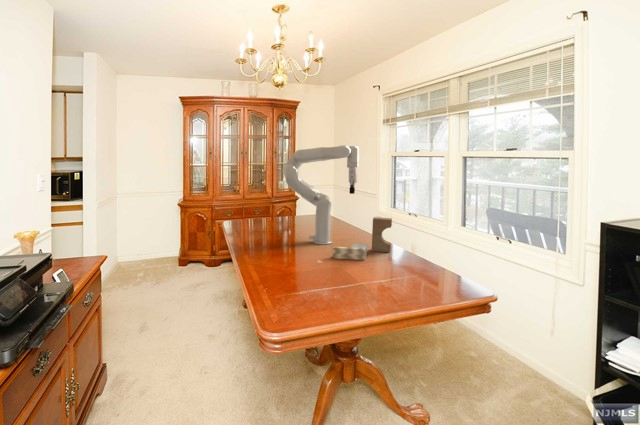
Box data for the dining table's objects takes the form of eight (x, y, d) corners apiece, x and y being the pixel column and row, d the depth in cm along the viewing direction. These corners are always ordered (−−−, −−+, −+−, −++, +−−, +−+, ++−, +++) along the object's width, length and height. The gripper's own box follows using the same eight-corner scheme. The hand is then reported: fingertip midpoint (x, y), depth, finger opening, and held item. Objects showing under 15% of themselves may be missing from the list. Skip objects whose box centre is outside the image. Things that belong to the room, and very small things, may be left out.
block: (351, 257, 204) (351, 247, 203) (352, 254, 212) (353, 244, 211) (365, 258, 203) (366, 248, 202) (366, 254, 211) (366, 244, 210)
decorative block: (390, 250, 221) (392, 218, 218) (390, 252, 215) (391, 219, 212) (372, 248, 224) (373, 217, 221) (371, 251, 218) (372, 218, 215)
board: (332, 258, 203) (332, 247, 202) (333, 256, 206) (333, 246, 205) (365, 260, 200) (365, 249, 199) (365, 258, 203) (365, 248, 202)
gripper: (357, 165, 227) (357, 194, 230) (359, 165, 242) (358, 192, 245) (346, 165, 228) (345, 194, 231) (347, 164, 243) (347, 192, 246)
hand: (352, 193), depth 238 cm, fingers closed
